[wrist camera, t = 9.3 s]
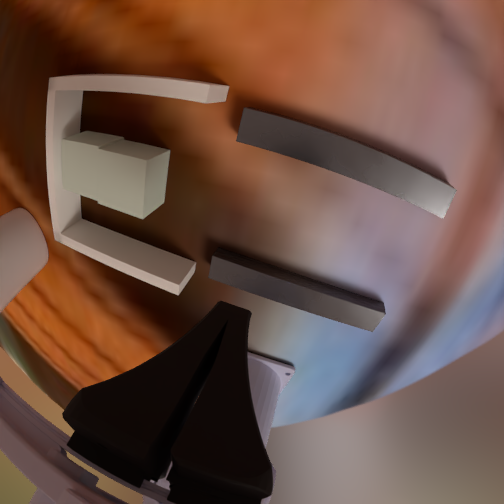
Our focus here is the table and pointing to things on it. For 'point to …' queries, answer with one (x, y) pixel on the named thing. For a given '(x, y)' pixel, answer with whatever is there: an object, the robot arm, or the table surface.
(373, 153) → the channel
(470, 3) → the table surface
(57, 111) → the white u-shaped bracket
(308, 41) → the table surface
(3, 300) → the candle holder
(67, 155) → the chip
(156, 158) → the white small block
